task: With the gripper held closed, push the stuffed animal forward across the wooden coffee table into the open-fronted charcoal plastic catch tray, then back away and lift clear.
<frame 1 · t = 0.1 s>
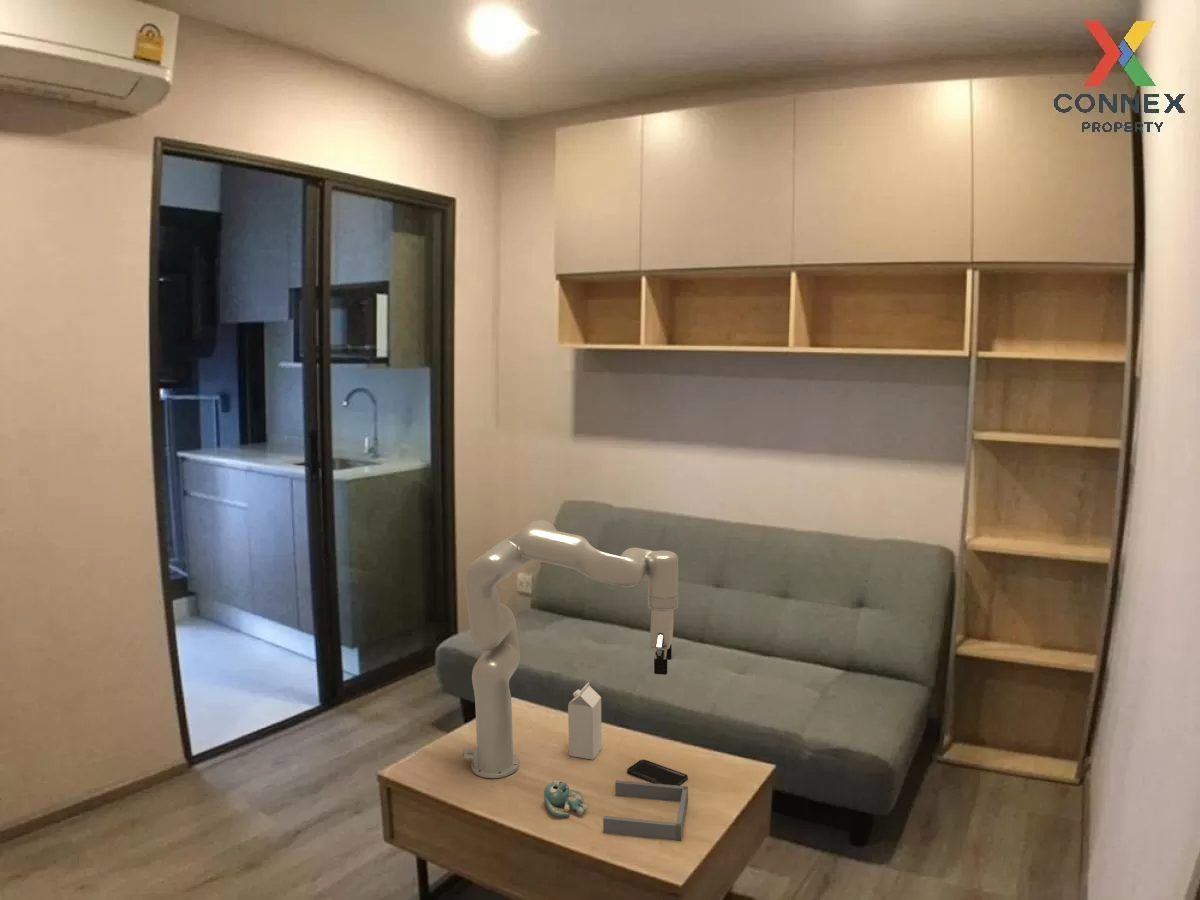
hand: (663, 666, 218), 31 cm above the table, tool pointing down, fingers open, 9 cm apart
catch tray: (647, 815, 207), on the table
milk carton: (585, 753, 238), on the table
stuffed animal: (565, 809, 210), on the table
phone: (657, 777, 225), on the table
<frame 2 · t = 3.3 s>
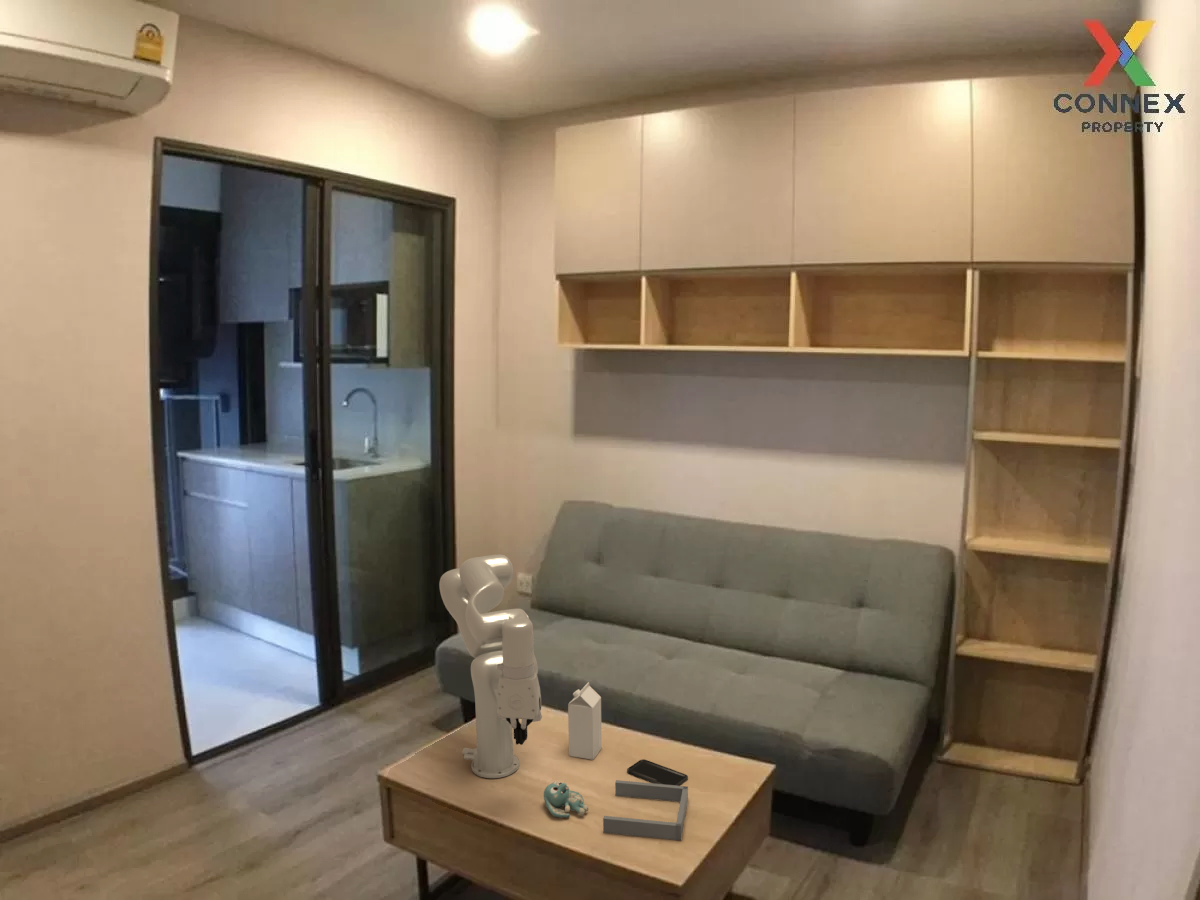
hand: (520, 742, 210), 16 cm above the table, tool pointing down, fingers closed
nothing on the table moved.
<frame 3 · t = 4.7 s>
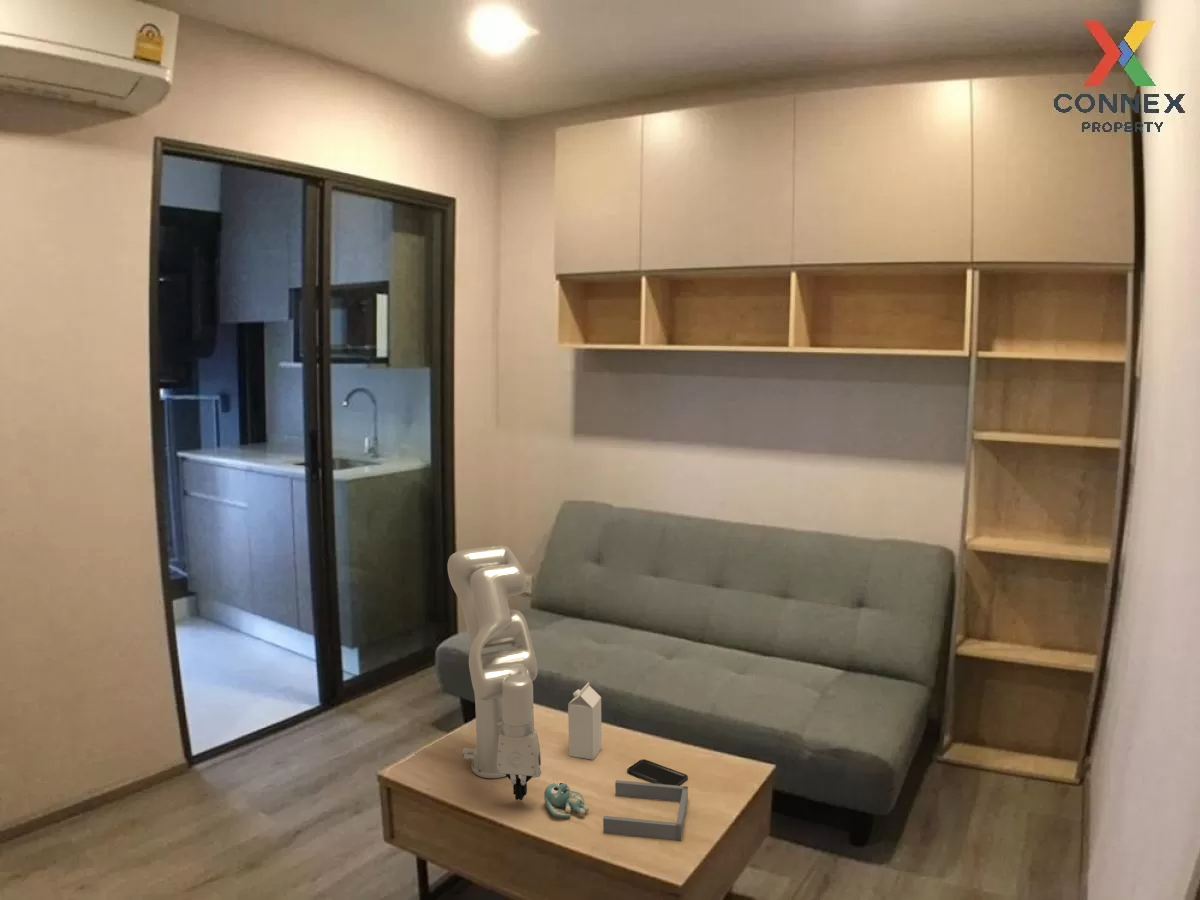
hand: (520, 797, 212), 2 cm above the table, tool pointing down, fingers closed
nothing on the table moved.
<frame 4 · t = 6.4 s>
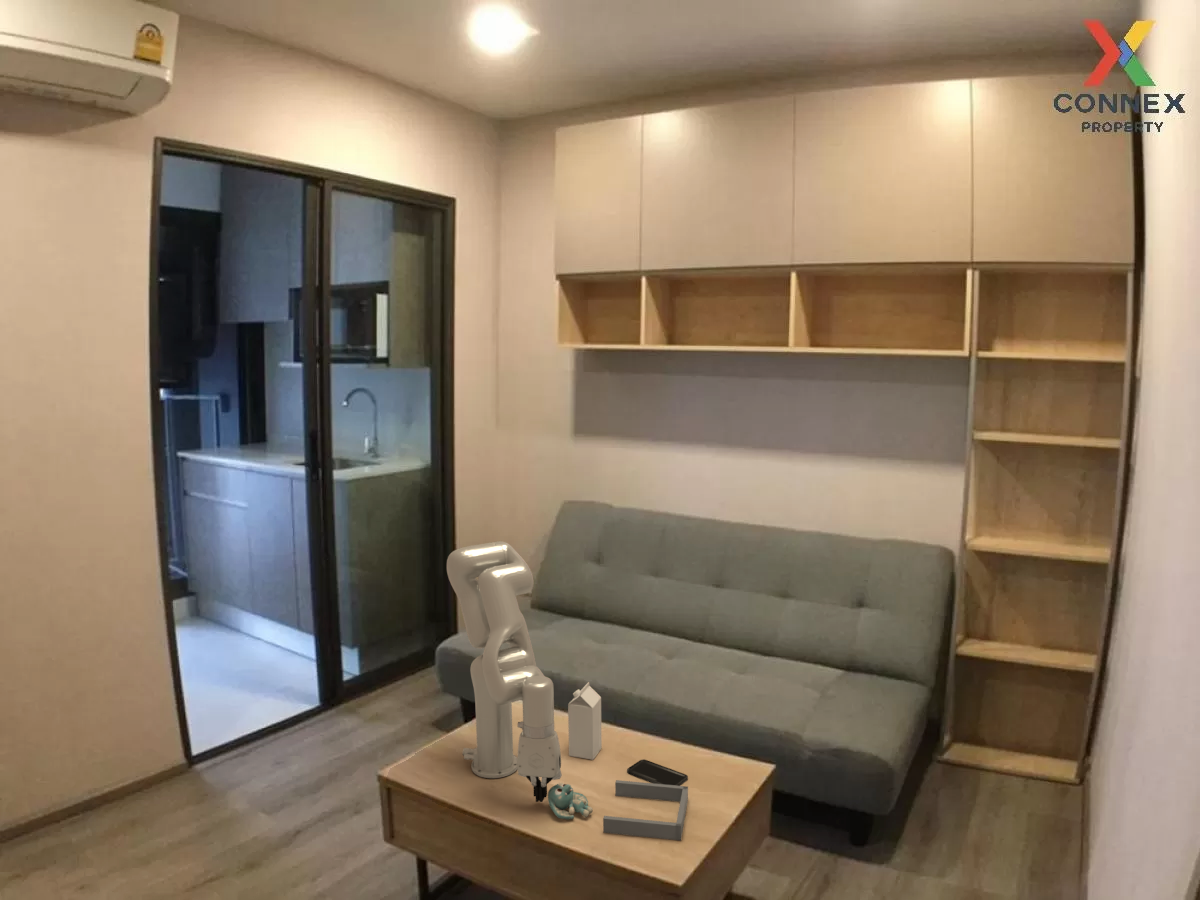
hand: (540, 799, 211), 2 cm above the table, tool pointing down, fingers closed
stuffed animal: (569, 812, 209), on the table
everything else where it was.
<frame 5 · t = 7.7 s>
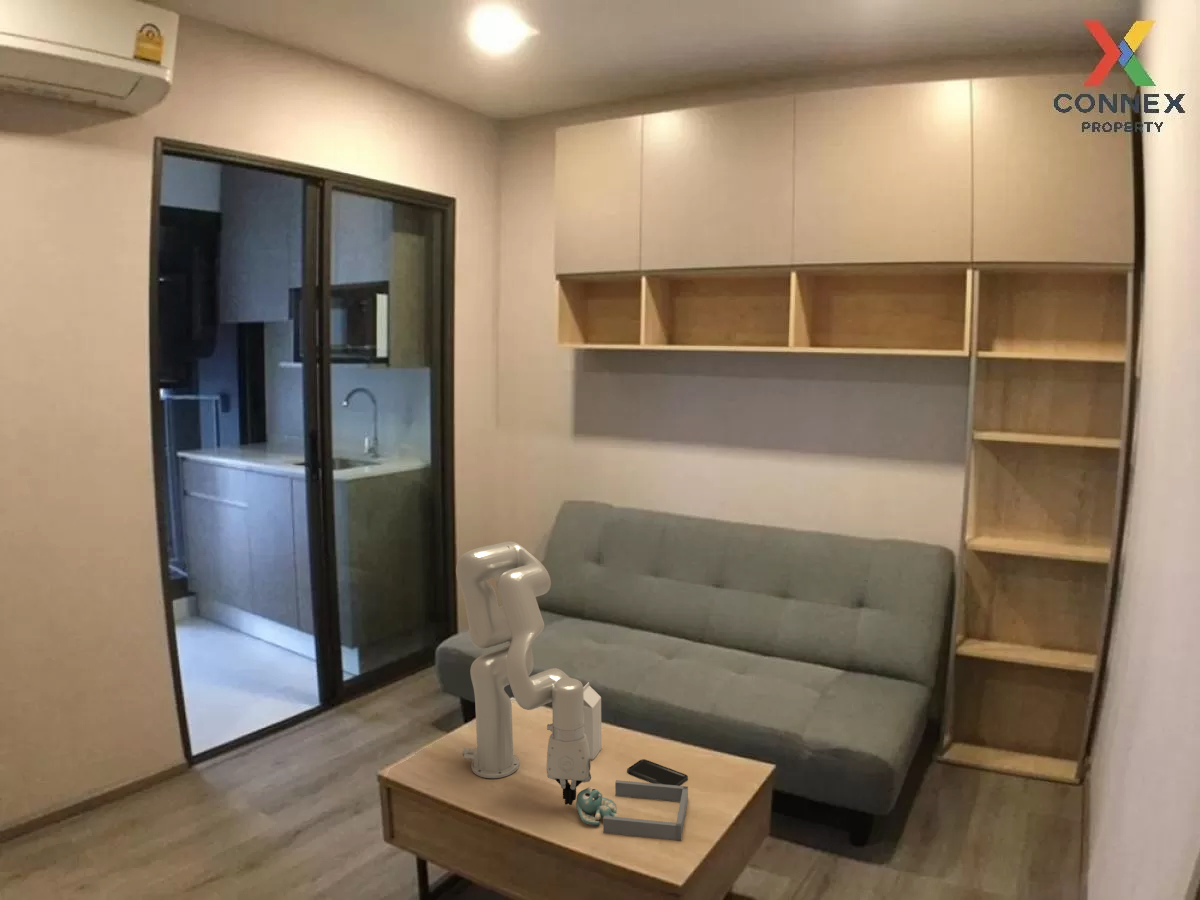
hand: (569, 801, 210), 2 cm above the table, tool pointing down, fingers closed
stuffed animal: (597, 817, 207), on the table, touching gripper
everything else where it was.
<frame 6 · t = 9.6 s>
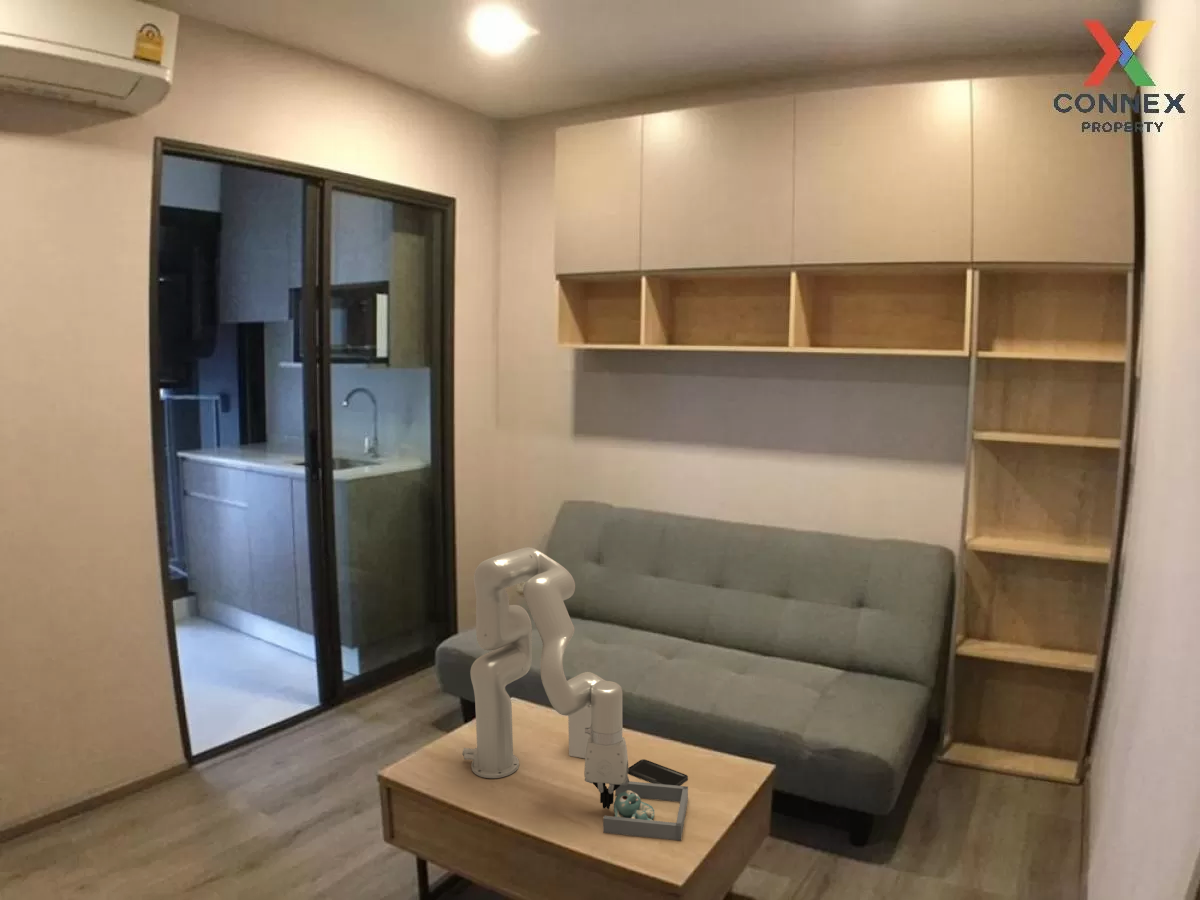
hand: (606, 805, 208), 2 cm above the table, tool pointing down, fingers closed
stuffed animal: (634, 821, 205), on the table, touching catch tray, gripper
everything else where it was.
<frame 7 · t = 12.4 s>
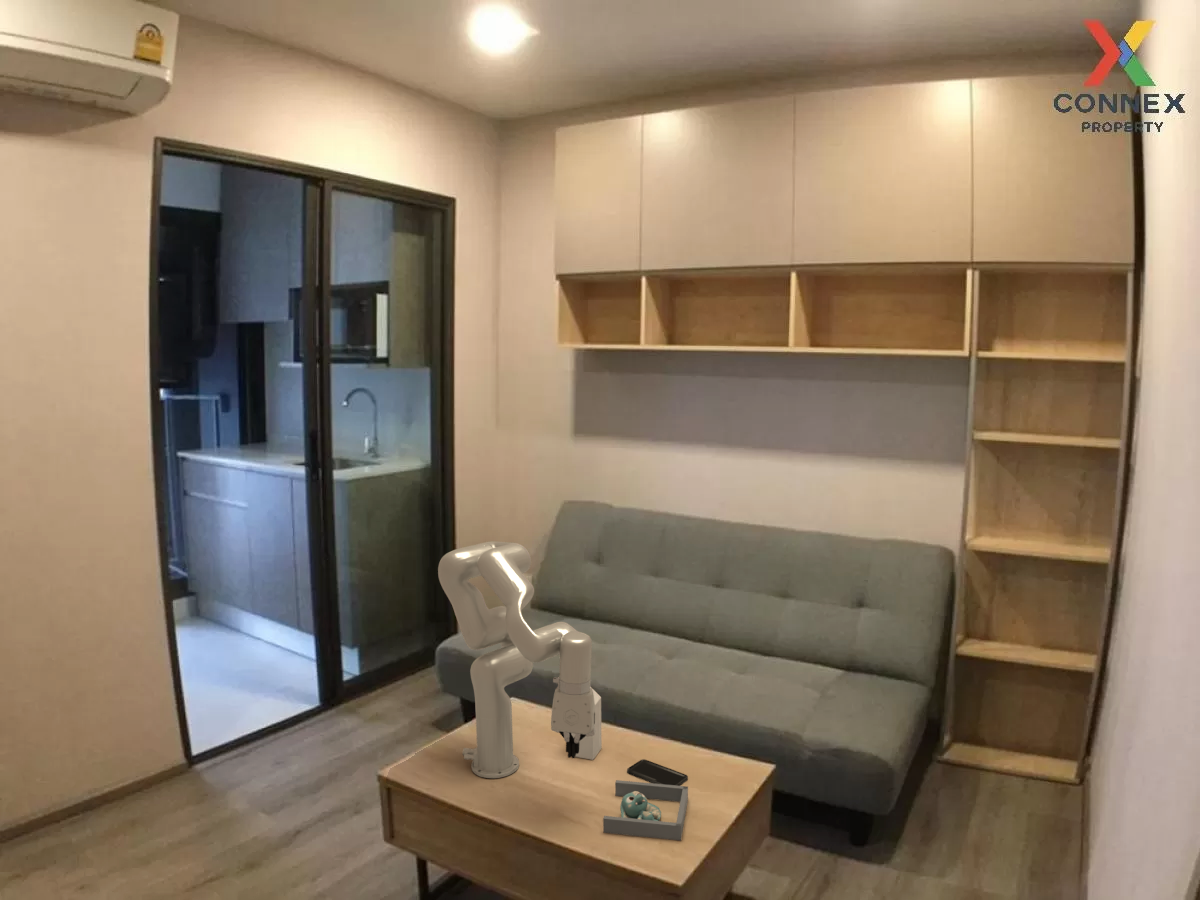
hand: (572, 754, 209), 13 cm above the table, tool pointing down, fingers closed
stuffed animal: (641, 822, 205), on the table
everything else where it was.
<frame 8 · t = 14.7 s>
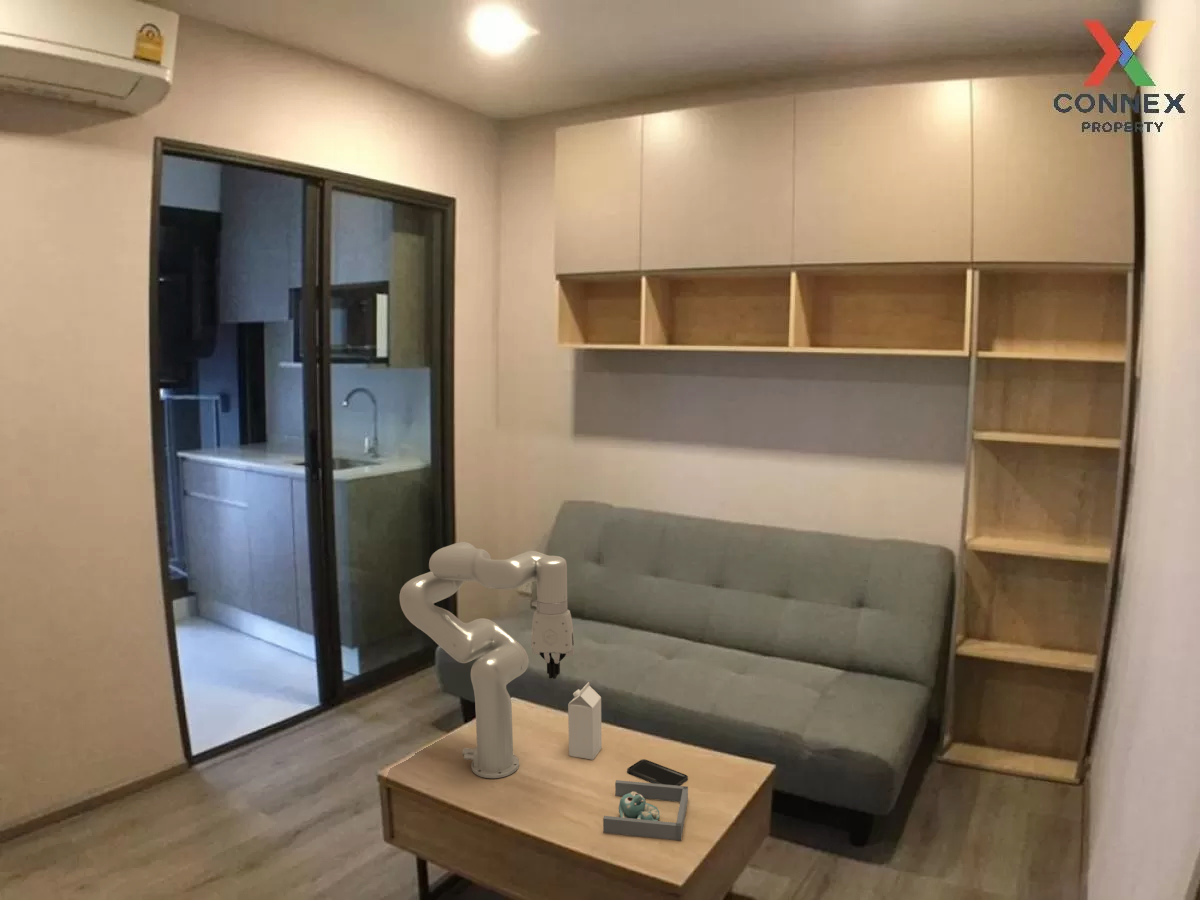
hand: (553, 676, 217), 29 cm above the table, tool pointing down, fingers closed
nothing on the table moved.
at the end: stuffed animal inside the target area on the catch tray (3.6 cm from its centre), point 0.0 cm above the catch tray's base; stuffed animal tilted 0°; the gripper is holding nothing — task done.
